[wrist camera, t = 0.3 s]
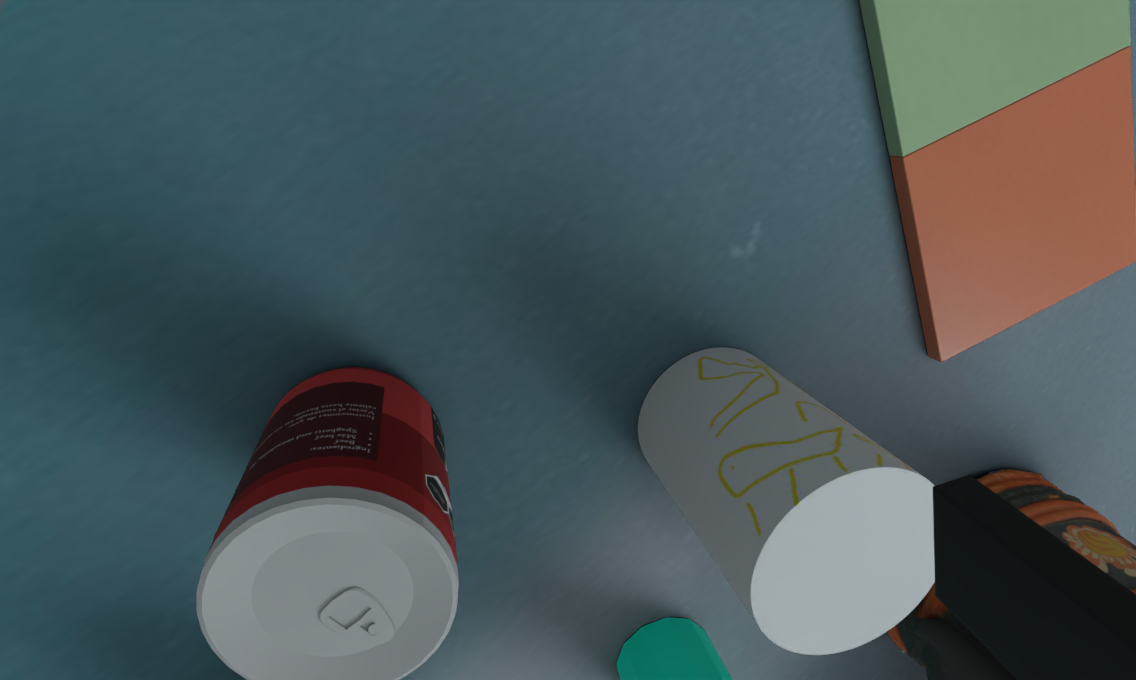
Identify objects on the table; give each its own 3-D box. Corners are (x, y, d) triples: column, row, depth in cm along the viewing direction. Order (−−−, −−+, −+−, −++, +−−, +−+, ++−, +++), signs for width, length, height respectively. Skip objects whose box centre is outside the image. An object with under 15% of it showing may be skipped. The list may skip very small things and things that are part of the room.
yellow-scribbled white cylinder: (787, 341, 34) (972, 454, 23) (770, 475, 36) (927, 634, 25) (641, 353, 32) (763, 482, 21) (634, 493, 35) (740, 672, 24)
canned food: (393, 532, 32) (385, 727, 22) (235, 467, 29) (142, 658, 19) (475, 411, 31) (507, 557, 21) (320, 330, 28) (269, 456, 18)
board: (835, -117, 27) (850, -126, 26) (1098, -237, 27) (1121, -250, 26) (927, 356, 36) (941, 363, 35) (1120, 257, 37) (1138, 260, 36)
